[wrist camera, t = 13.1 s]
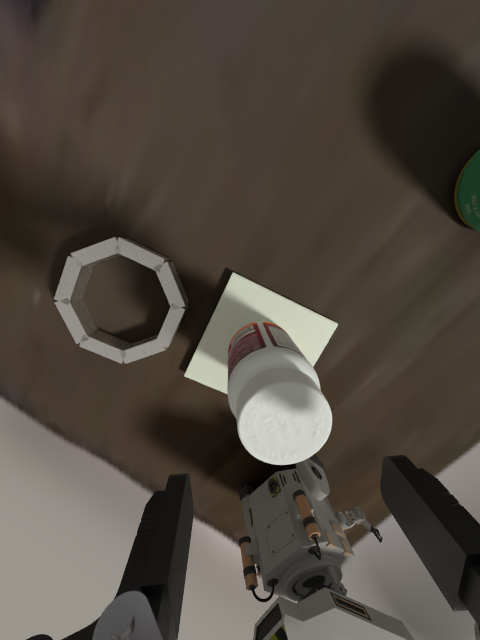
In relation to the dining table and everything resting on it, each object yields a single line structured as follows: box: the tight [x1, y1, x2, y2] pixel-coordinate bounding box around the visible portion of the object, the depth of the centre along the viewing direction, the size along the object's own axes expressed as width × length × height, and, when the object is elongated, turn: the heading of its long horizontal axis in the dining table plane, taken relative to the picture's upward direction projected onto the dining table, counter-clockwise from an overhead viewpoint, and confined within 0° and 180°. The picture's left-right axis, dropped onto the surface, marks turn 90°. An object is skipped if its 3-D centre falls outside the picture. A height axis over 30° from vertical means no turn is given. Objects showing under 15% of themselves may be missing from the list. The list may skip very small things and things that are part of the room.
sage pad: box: [184, 272, 338, 394], centre depth 25 cm, size 11×11×1 cm
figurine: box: [239, 455, 414, 640], centre depth 22 cm, size 9×12×15 cm
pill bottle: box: [227, 321, 332, 465], centre depth 19 cm, size 6×6×11 cm
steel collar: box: [54, 237, 189, 364], centre depth 23 cm, size 10×10×2 cm
